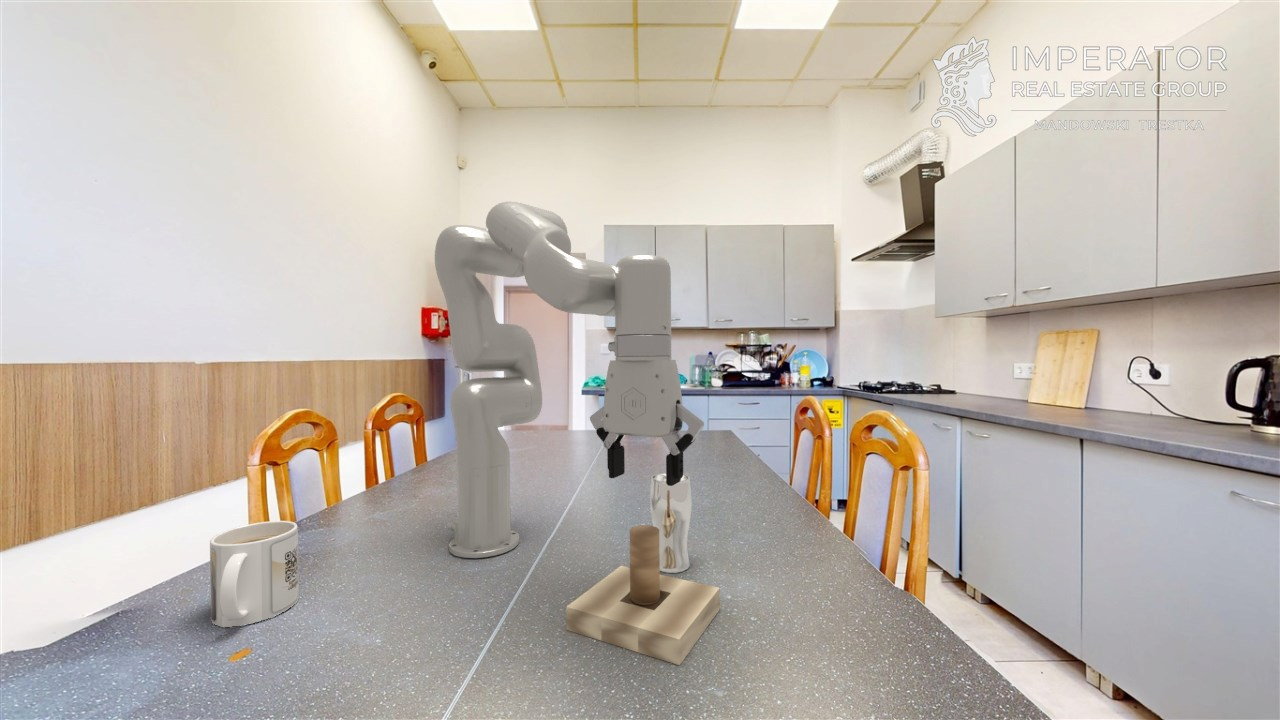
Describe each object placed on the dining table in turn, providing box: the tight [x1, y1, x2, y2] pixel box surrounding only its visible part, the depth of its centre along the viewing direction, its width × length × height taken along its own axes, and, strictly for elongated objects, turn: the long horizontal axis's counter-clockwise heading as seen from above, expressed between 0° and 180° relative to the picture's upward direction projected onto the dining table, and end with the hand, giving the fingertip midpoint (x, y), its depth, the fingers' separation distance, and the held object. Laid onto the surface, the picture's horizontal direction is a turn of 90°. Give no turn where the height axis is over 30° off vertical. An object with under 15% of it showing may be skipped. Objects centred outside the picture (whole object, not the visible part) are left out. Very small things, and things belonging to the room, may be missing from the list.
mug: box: [209, 520, 300, 628], centre depth 68 cm, size 10×12×11 cm
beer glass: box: [649, 472, 692, 574], centre depth 83 cm, size 7×7×15 cm
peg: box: [629, 524, 661, 610], centre depth 66 cm, size 4×4×12 cm
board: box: [565, 565, 721, 666], centre depth 66 cm, size 16×14×3 cm
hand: (644, 479), depth 66 cm, fingers open, 8 cm apart
